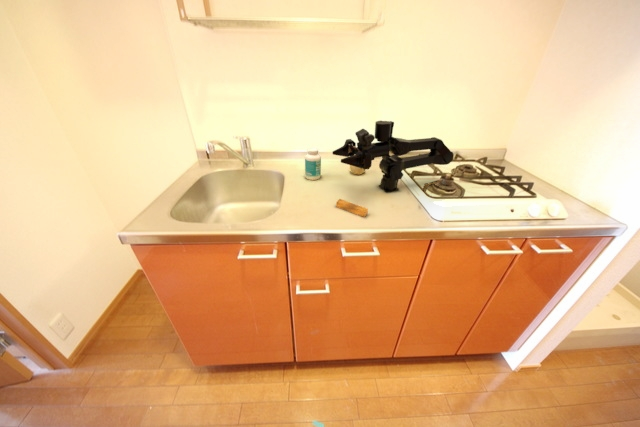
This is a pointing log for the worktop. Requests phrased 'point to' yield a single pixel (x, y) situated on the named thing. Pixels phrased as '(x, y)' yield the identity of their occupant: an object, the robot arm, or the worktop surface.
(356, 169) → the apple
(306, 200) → the worktop surface
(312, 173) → the pill bottle
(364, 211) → the fry stick
